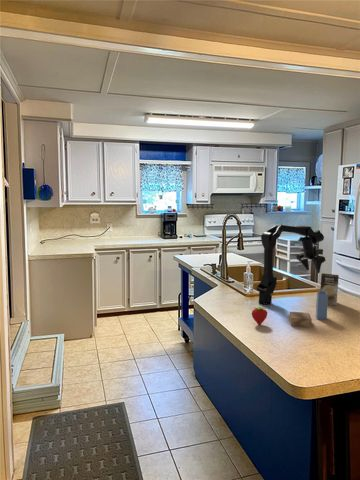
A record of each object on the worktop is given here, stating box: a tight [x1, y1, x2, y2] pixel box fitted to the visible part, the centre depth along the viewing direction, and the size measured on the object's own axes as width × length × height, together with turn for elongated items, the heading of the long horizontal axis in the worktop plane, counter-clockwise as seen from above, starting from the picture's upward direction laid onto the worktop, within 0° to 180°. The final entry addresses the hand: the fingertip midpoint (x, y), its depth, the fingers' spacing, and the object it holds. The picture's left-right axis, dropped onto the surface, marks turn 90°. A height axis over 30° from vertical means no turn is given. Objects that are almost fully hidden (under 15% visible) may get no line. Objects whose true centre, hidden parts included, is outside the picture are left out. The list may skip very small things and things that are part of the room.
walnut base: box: [289, 311, 312, 328], centre depth 174 cm, size 9×9×4 cm
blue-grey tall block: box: [315, 290, 329, 321], centre depth 180 cm, size 4×4×14 cm
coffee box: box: [319, 272, 339, 306], centre depth 205 cm, size 9×6×16 cm
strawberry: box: [251, 306, 268, 326], centre depth 171 cm, size 6×8×10 cm
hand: (313, 271), depth 216 cm, fingers open, 9 cm apart
